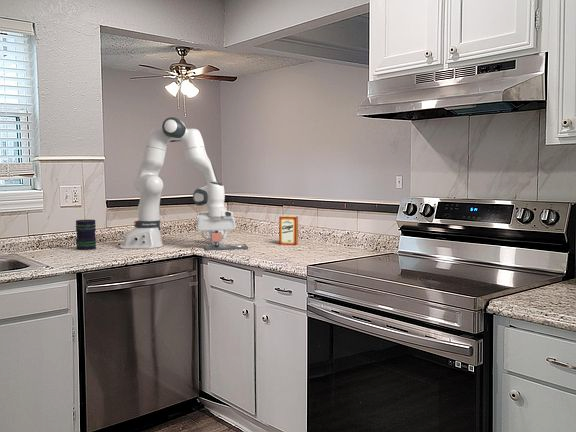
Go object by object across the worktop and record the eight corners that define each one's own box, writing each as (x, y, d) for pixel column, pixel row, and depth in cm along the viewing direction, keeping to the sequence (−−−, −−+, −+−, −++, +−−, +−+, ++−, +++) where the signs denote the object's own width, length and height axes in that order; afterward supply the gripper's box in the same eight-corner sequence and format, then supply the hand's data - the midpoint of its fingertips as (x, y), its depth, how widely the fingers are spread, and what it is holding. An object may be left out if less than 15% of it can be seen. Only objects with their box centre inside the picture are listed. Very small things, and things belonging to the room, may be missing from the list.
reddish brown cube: (211, 241, 295) (211, 231, 294) (211, 240, 300) (211, 230, 299) (221, 241, 296) (221, 231, 295) (221, 239, 301) (221, 230, 300)
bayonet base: (205, 250, 291) (205, 236, 290) (204, 247, 303) (204, 233, 302) (248, 249, 295) (248, 235, 295) (245, 246, 307) (245, 233, 307)
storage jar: (89, 250, 289) (89, 221, 288) (72, 249, 291) (71, 221, 290) (99, 247, 299) (99, 219, 298) (83, 247, 301) (82, 219, 300)
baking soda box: (298, 243, 318) (298, 215, 317) (296, 245, 312) (296, 216, 311) (281, 243, 320) (281, 215, 319) (279, 244, 314) (279, 216, 312)
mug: (198, 244, 313) (198, 221, 311) (204, 242, 323) (204, 219, 322) (224, 245, 310) (224, 221, 309) (229, 242, 321) (229, 219, 320)
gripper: (196, 213, 291) (196, 240, 293) (236, 213, 295) (236, 239, 297) (196, 212, 297) (196, 238, 299) (234, 212, 302) (234, 237, 303)
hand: (216, 238), depth 298 cm, fingers closed on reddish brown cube, 5 cm apart
